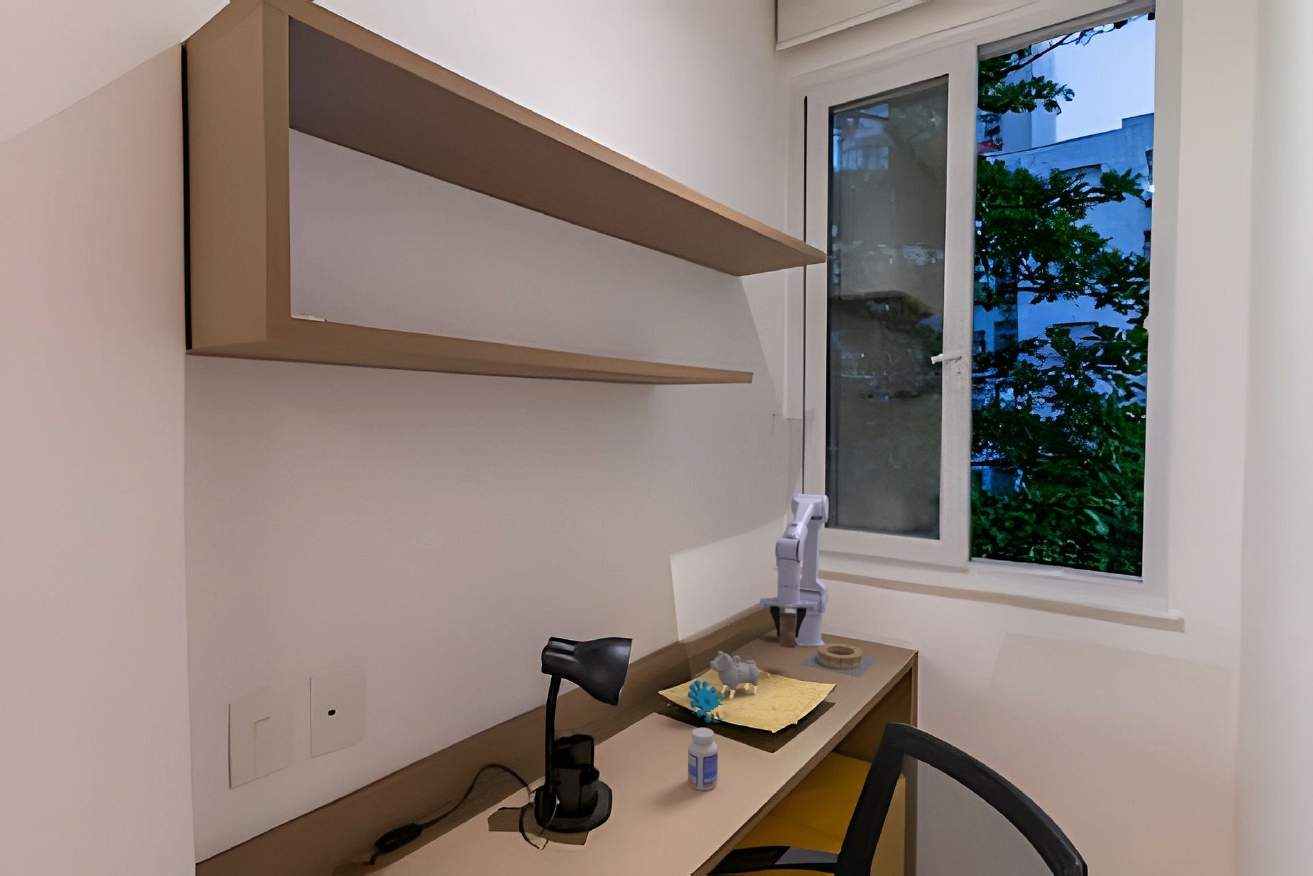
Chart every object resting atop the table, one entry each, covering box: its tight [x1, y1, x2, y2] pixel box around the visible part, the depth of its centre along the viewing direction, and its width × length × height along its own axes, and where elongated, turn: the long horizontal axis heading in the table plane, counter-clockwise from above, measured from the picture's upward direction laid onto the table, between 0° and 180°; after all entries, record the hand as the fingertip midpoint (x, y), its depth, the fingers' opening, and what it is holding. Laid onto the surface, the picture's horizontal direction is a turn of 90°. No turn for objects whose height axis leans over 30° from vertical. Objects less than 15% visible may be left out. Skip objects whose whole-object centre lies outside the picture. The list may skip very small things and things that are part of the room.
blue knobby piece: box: [687, 679, 726, 724], centre depth 164 cm, size 11×6×10 cm
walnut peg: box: [778, 611, 796, 649], centre depth 191 cm, size 4×4×8 cm
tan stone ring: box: [817, 642, 864, 669], centre depth 199 cm, size 12×12×3 cm
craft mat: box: [800, 650, 879, 678], centre depth 199 cm, size 16×16×1 cm
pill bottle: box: [687, 727, 719, 791], centre depth 135 cm, size 5×5×10 cm
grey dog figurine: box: [709, 650, 761, 691], centre depth 177 cm, size 5×13×11 cm, turn 114°
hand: (787, 635), depth 191 cm, fingers closed on walnut peg, 4 cm apart
